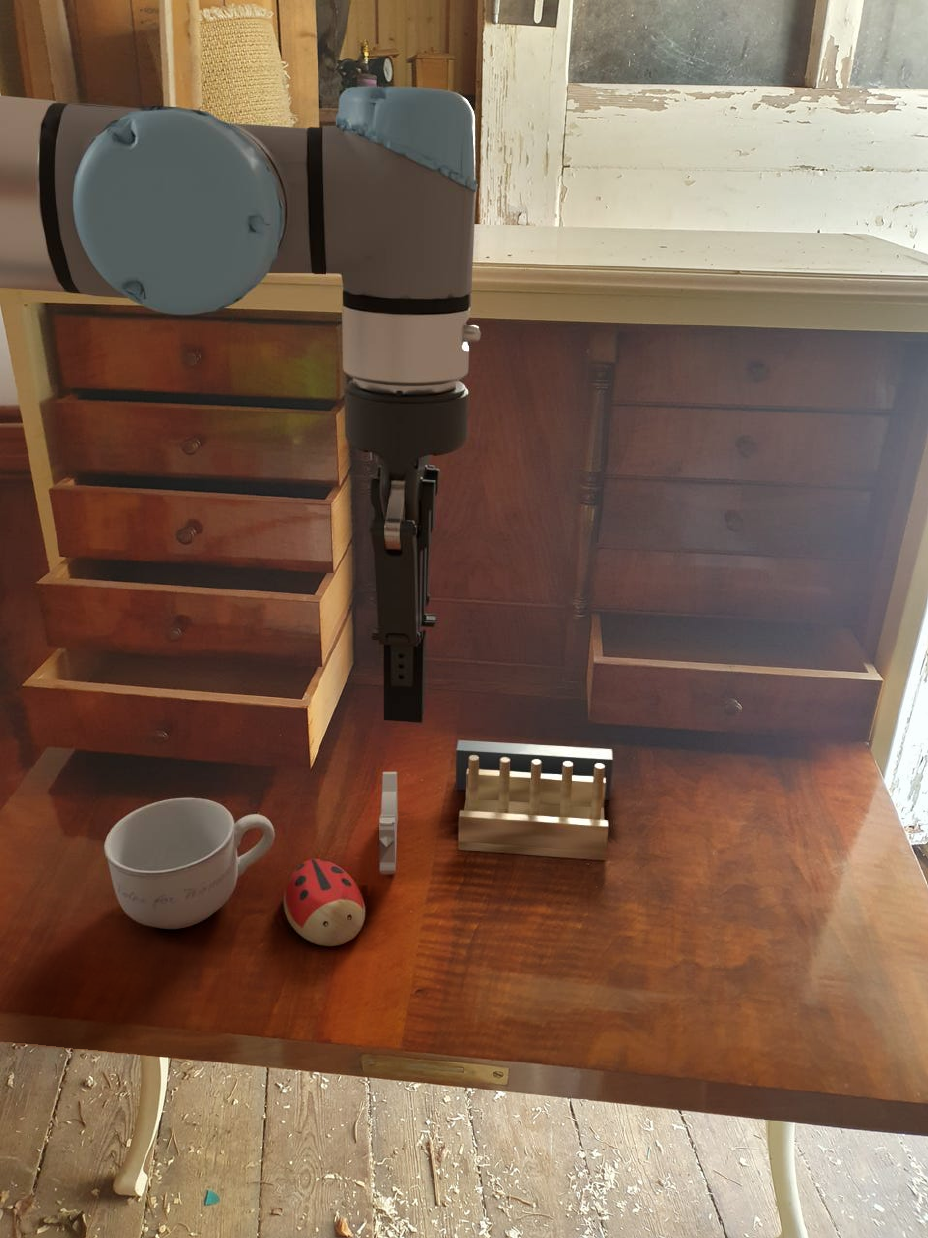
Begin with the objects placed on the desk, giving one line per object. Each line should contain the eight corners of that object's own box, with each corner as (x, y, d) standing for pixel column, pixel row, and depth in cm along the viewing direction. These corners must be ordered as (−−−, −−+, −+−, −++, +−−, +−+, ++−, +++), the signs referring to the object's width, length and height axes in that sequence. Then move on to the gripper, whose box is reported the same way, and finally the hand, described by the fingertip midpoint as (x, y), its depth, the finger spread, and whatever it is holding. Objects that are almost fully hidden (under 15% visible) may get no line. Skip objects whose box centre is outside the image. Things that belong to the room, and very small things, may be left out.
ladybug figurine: (307, 962, 79) (304, 929, 78) (269, 889, 87) (266, 858, 85) (381, 935, 82) (380, 903, 81) (339, 867, 90) (337, 836, 88)
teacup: (107, 954, 80) (92, 878, 76) (127, 868, 89) (115, 797, 86) (277, 936, 82) (271, 862, 78) (279, 854, 91) (273, 784, 88)
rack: (458, 850, 92) (459, 781, 89) (466, 800, 100) (467, 734, 96) (605, 861, 91) (611, 791, 88) (602, 809, 98) (608, 743, 95)
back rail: (455, 790, 101) (456, 750, 99) (457, 779, 103) (458, 739, 101) (609, 800, 100) (612, 759, 98) (608, 789, 102) (612, 749, 99)
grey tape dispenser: (397, 818, 97) (395, 885, 88) (384, 819, 97) (379, 885, 88) (396, 770, 94) (393, 833, 85) (382, 770, 94) (378, 834, 85)
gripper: (460, 407, 52) (448, 772, 62) (475, 362, 64) (464, 675, 74) (322, 400, 52) (333, 763, 63) (363, 357, 64) (367, 669, 74)
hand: (404, 715), depth 68 cm, fingers closed
